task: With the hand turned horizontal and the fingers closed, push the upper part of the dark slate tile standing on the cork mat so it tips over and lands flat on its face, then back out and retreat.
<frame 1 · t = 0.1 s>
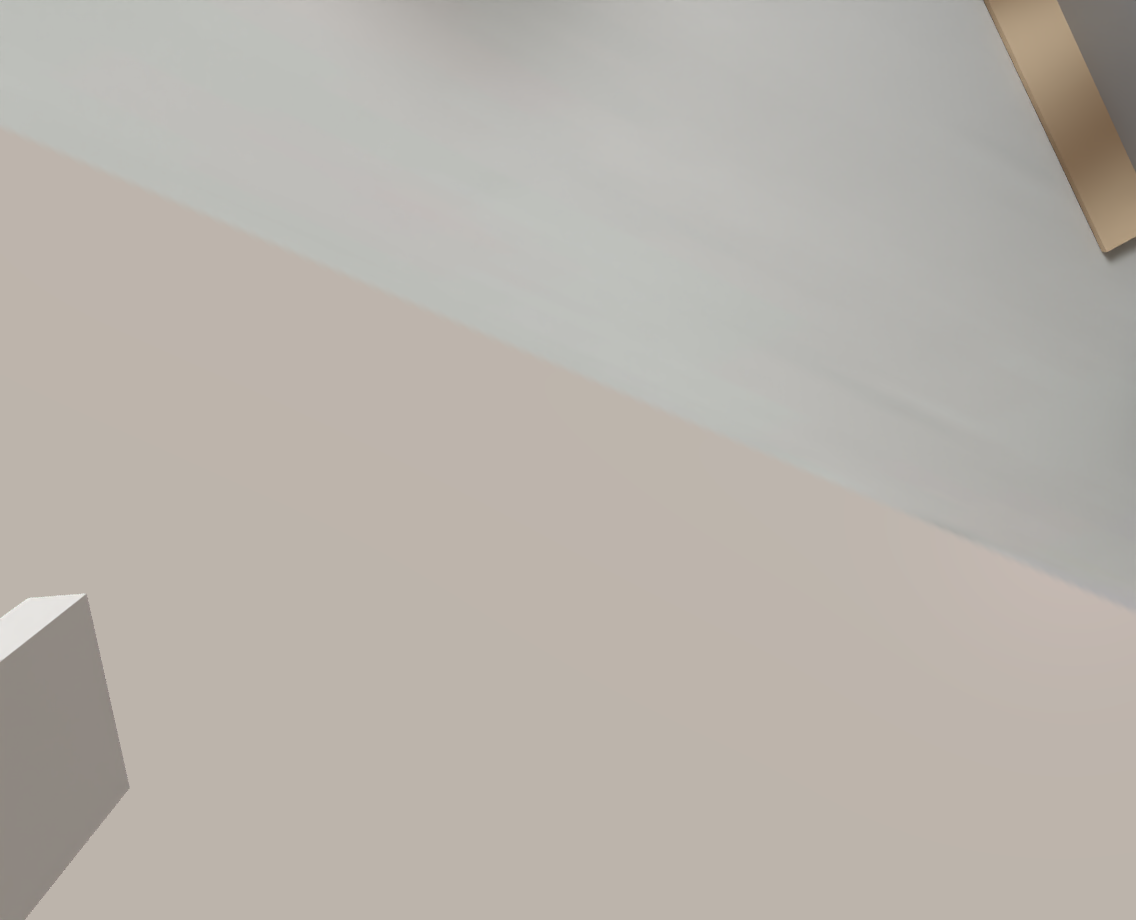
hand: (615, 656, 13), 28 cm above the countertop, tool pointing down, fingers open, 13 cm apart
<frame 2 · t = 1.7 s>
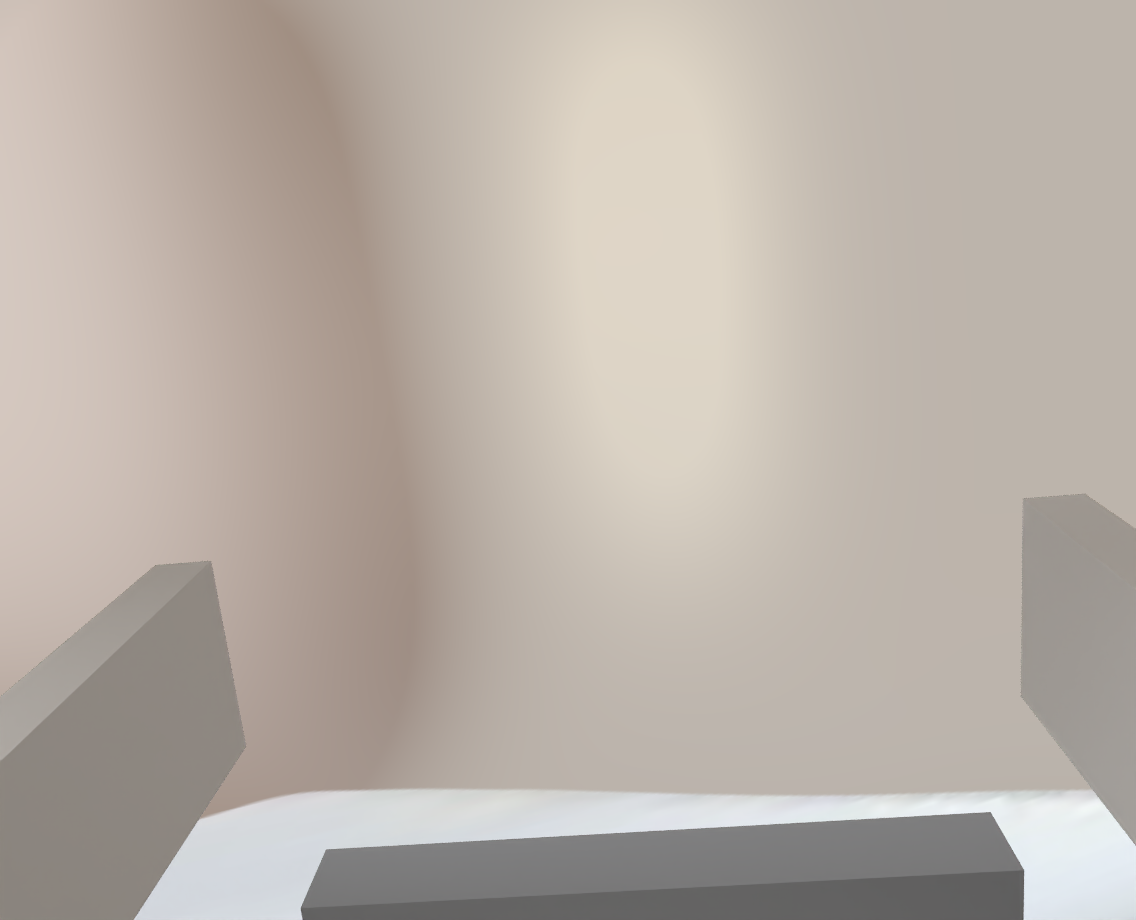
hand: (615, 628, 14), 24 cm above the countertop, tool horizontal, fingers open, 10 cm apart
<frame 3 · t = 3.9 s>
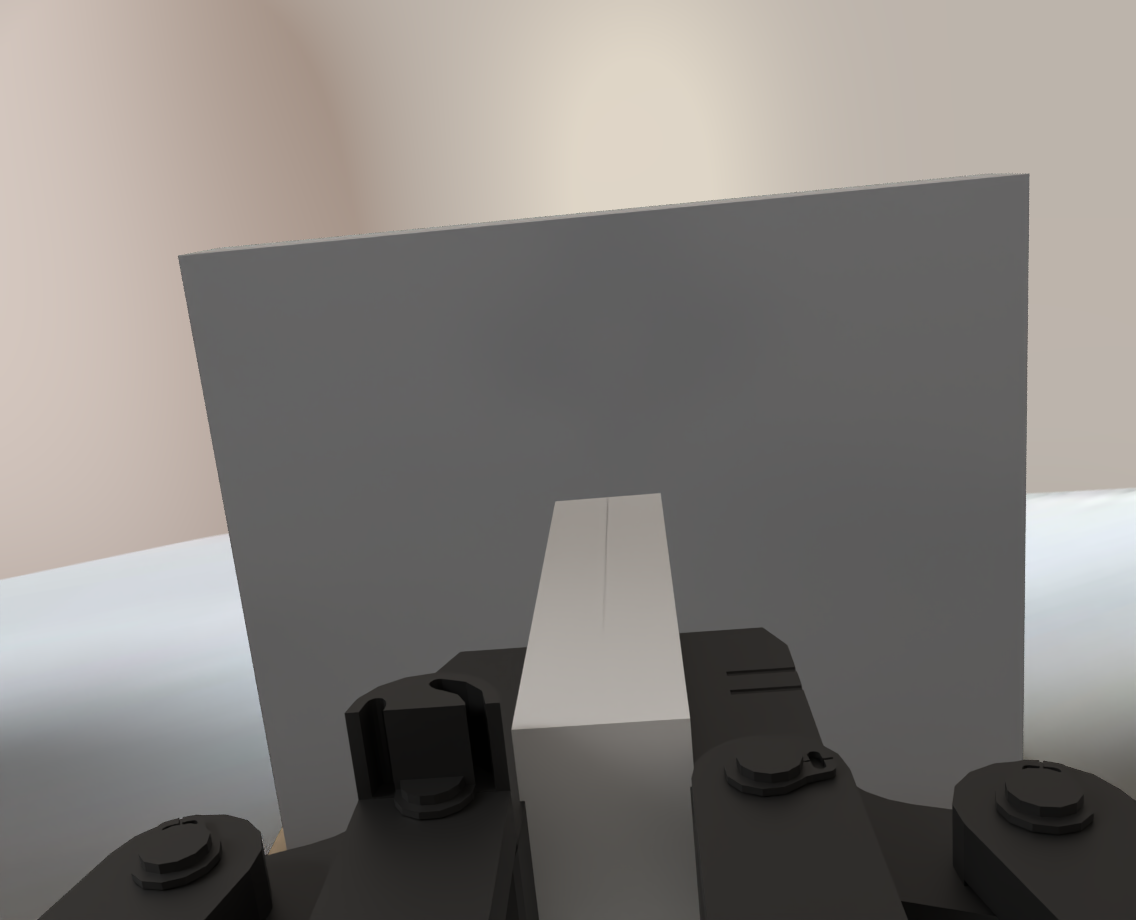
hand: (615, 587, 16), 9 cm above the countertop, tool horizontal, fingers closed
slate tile: (648, 836, 25), resting on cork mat
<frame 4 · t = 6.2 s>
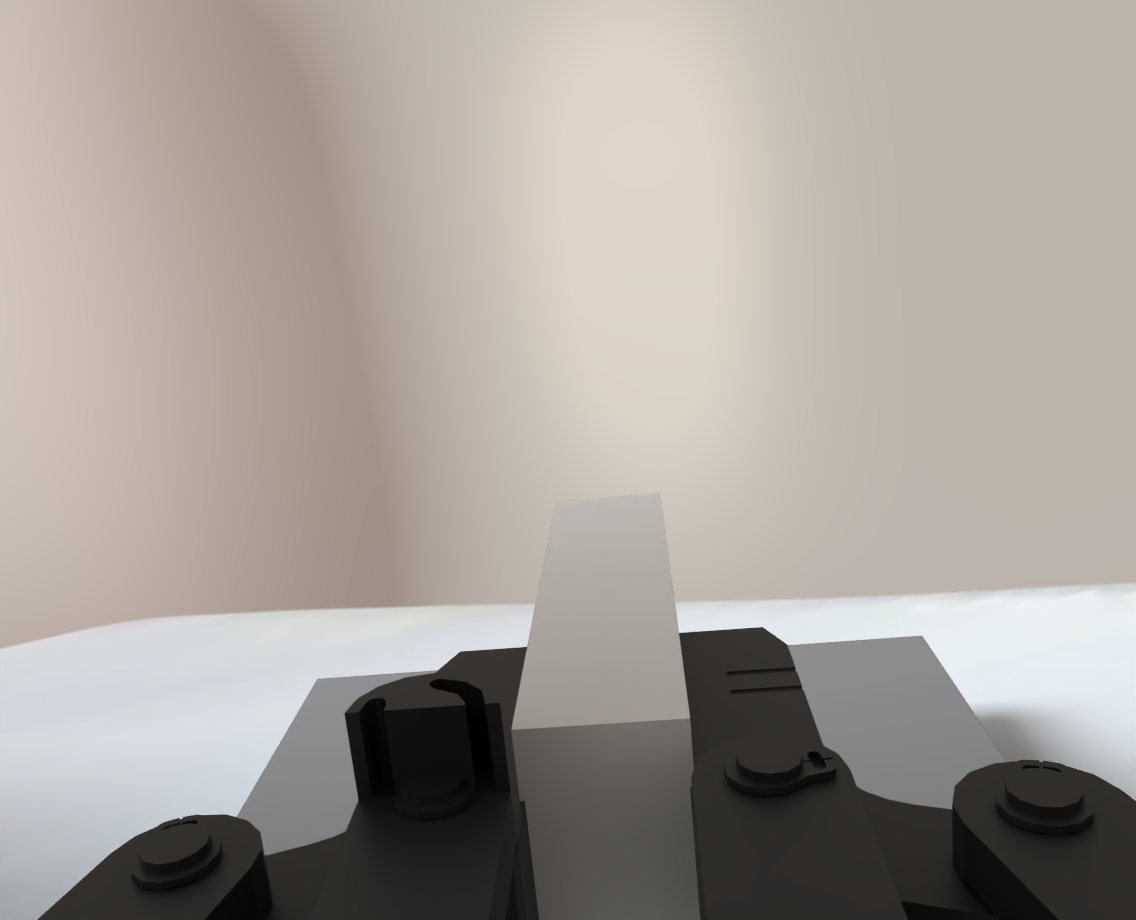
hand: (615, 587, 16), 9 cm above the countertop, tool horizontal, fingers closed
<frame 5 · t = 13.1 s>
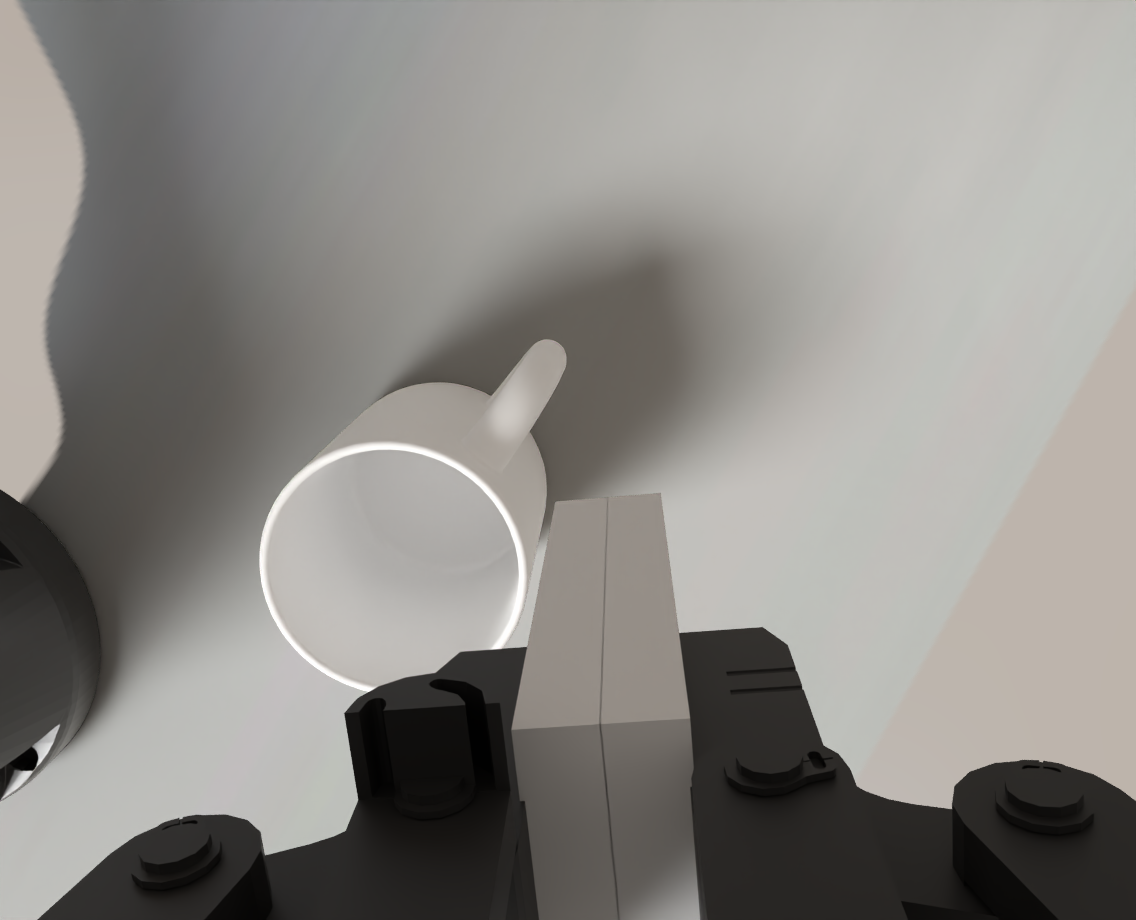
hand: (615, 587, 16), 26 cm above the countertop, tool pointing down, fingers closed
mug: (474, 443, 43), on the countertop
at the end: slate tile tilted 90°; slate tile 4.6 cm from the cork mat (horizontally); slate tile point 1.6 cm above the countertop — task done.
